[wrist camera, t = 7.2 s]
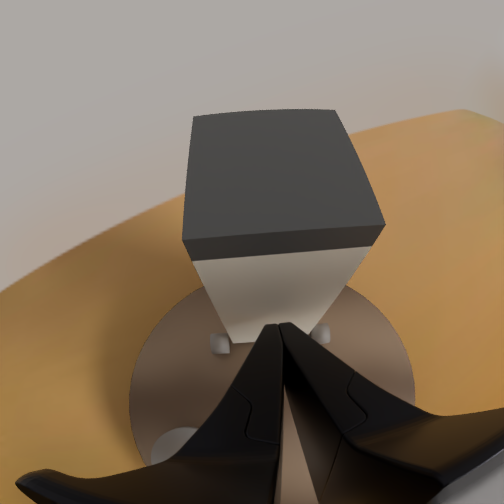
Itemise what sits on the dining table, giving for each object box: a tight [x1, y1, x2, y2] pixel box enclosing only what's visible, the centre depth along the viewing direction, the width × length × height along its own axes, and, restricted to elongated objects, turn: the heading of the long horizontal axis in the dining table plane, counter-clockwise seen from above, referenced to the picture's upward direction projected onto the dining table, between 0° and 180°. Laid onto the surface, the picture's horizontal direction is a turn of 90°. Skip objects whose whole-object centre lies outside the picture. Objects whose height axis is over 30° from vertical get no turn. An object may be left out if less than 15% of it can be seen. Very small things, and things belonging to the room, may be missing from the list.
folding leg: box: [182, 109, 386, 343], centre depth 10 cm, size 4×4×10 cm
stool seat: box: [129, 285, 415, 504], centre depth 13 cm, size 15×15×4 cm
